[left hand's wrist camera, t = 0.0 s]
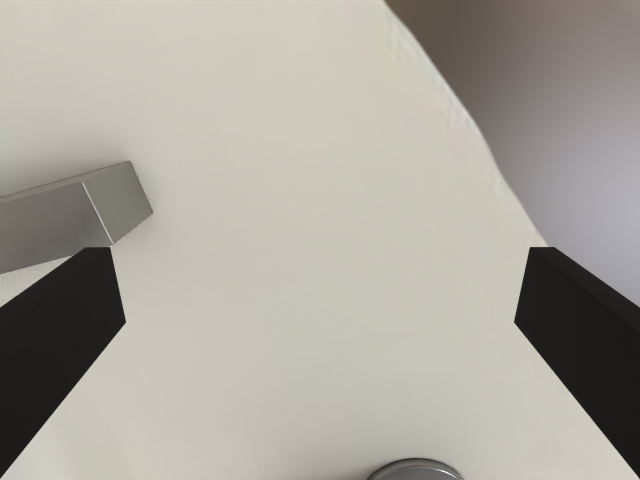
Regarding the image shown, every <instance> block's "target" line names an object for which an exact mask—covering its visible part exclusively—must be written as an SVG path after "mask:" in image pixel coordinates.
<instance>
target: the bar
mask: <svg viewBox="0 0 640 480" xmlns="http://www.w3.org/2000/svg"><path fill="white" fill-rule="evenodd" d="M151 214H153V211H152V209H151V207H150V205H149V202H148V200H147V198H146V196H145V193H144V191H143V189H142V187H141V184H140V182H139V180H138V178H137V175H136V173H135V171H134V169H133V166H132V164H131V162H130V161H127V162H124V163H120V164H117V165H113V166H109V167H106V168H102V169H99V170H95V171H92V172H88V173H85V174H81V175H77V176H74V177H70V178H67V179H63V180H60V181H56V182H53V183H49V184H45V185H42V186H38V187H35V188H31V189H28V190H24V191H21V192H17V193H14V194H10V195H6V196H3V197H0V274H3V273H6V272H10V271H14V270H18V269H22V268H26V267H29V266H33V265H37V264H41V263H45V262H49V261H52V260H56V259H60V258H64V257H68V256H72V255H75V254H77V253H78V252H79V251H81V250H82V249H84V248H85V247H106V246H110V245H113V244H115V243H116V242H117V241H118V240H120V239H121V238H122V237H124V236H125V235H126V234H127V233H129V232H130V231H131V230H132V229H134V228H135V227H136V226H137V225H139V224H140V223H141V222H142V221H144V220H145V219H146V218H148V217H149V216H150V215H151Z"/></svg>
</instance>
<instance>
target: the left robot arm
mask: <svg viewBox="0 0 640 480" xmlns="http://www.w3.org/2000/svg"><path fill="white" fill-rule="evenodd" d="M125 323H126V320H125V315H124V310H123V306H122V301H121V296H120V292H119V287H118V282H117V278H116V273H115V268H114V263H113V259H112V254H111V249H110V247H85V248H84V249H82V250H81V251H79V252H78V253H77V254H75V255H74V256H72V257H71V258H70V259H68V260H67V261H65V262H64V263H62V264H61V265H60V266H58V267H57V268H55V269H54V270H53V271H51V272H50V273H48V274H47V275H46V276H44V277H43V278H41V279H40V280H38V281H37V282H36V283H34V284H33V285H31V286H30V287H29V288H27V289H26V290H24V291H23V292H22V293H20V294H19V295H17V296H16V297H14V298H13V299H12V300H10V301H9V302H7V303H6V304H5V305H3V306H2V307H0V478H1V477H2V476H3V475H4V473H5V472H6V471H7V470H8V468H9V467H10V466H11V465H12V463H13V462H14V461H15V460H16V458H17V457H18V456H19V455H20V454H21V452H22V451H23V450H24V449H25V447H26V446H27V445H28V444H29V442H30V441H31V440H32V439H33V437H34V436H35V435H36V434H37V432H38V431H39V430H40V429H41V427H42V426H43V425H44V424H45V422H46V421H47V420H48V419H49V417H50V416H51V415H52V414H53V412H54V411H55V410H56V409H57V407H58V406H59V405H60V404H61V403H62V401H63V400H64V399H65V398H66V396H67V395H68V394H69V393H70V391H71V390H72V389H73V388H74V386H75V385H76V384H77V383H78V381H79V380H80V379H81V378H82V376H83V375H84V374H85V373H86V371H87V370H88V369H89V368H90V366H91V365H92V364H93V363H94V361H95V360H96V359H97V358H98V357H99V355H100V354H101V353H102V352H103V350H104V349H105V348H106V347H107V345H108V344H109V343H110V342H111V340H112V339H113V338H114V337H115V335H116V334H117V333H118V332H119V330H120V329H121V328H122V327H123V325H124V324H125ZM514 323H515V324H516V325H517V327H518V328H519V329H520V330H521V332H522V333H523V334H524V335H525V337H526V338H527V339H528V340H529V342H530V343H531V344H532V345H533V347H534V348H535V349H536V350H537V352H538V353H539V354H540V355H541V357H542V358H543V359H544V360H545V361H546V363H547V364H548V365H549V366H550V368H551V369H552V370H553V371H554V373H555V374H556V375H557V376H558V378H559V379H560V380H561V381H562V383H563V384H564V385H565V386H566V388H567V389H568V390H569V391H570V393H571V394H572V395H573V396H574V398H575V399H576V400H577V401H578V403H579V404H580V405H581V406H582V407H583V409H584V410H585V411H586V412H587V414H588V415H589V416H590V417H591V419H592V420H593V421H594V422H595V424H596V425H597V426H598V427H599V429H600V430H601V431H602V432H603V434H604V435H605V436H606V437H607V439H608V440H609V441H610V442H611V444H612V445H613V446H614V447H615V449H616V450H617V451H618V452H619V454H620V455H621V456H622V457H623V458H624V460H625V461H626V462H627V463H628V465H629V466H630V467H631V468H632V470H633V471H634V472H635V473H636V475H637V476H638V477H639V478H640V307H638V306H637V305H635V304H634V303H633V302H631V301H630V300H628V299H627V298H626V297H624V296H623V295H621V294H620V293H618V292H617V291H616V290H614V289H613V288H611V287H610V286H609V285H607V284H606V283H604V282H603V281H602V280H600V279H599V278H597V277H596V276H594V275H593V274H592V273H590V272H589V271H587V270H586V269H585V268H583V267H582V266H580V265H579V264H577V263H576V262H575V261H573V260H572V259H570V258H569V257H568V256H566V255H565V254H563V253H562V252H561V251H559V250H558V249H556V248H555V247H530V249H529V254H528V259H527V263H526V268H525V273H524V278H523V282H522V287H521V292H520V296H519V301H518V306H517V310H516V315H515V320H514ZM368 480H463V478H462V477H461V476H460V474H459V473H457V472H456V471H455V470H454V469H452V468H451V467H449V466H447V465H445V464H443V463H440V462H436V461H432V460H424V459H412V460H404V461H400V462H396V463H393V464H390V465H388V466H385V467H383V468H381V469H380V470H378V471H377V472H375V473H374V474H373V475H372V476H371V477H370V478H369V479H368Z"/></svg>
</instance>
